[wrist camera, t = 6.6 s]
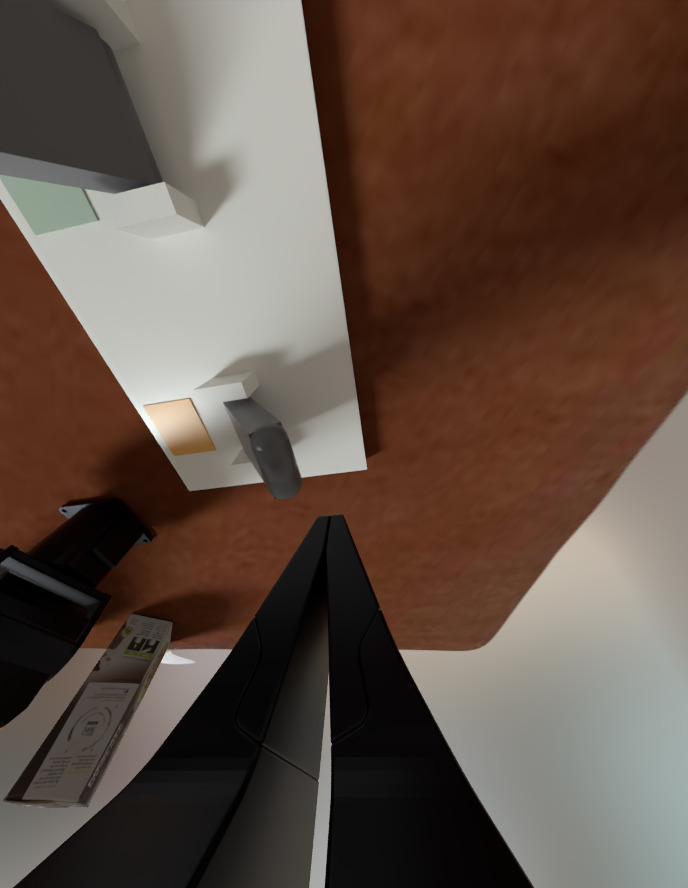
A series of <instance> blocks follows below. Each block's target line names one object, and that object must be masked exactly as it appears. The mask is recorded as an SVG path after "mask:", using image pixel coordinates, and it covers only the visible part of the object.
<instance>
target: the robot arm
mask: <svg viewBox="0 0 688 888" xmlns="http://www.w3.org/2000/svg"><path fill="white" fill-rule="evenodd" d="M59 511H60V512H61V513H62V514H63V515H64V516H66V517H67V518H68V520H67V521H66V522H65V523H63V524H62V525H61V526H60V527H58V528H57V529H56V530H55V531H53V532H52V533H51V534H50V535H48V536H47V537H46V538H45V539H43V540H42V541H41V542H40V543H39V544H37V545H36V546H35V547H34V548H32V549H31V550H30V551H29V552H27V553H24V552H22V551H20V550H18V549H19V548H17V547H15V546H13V545H10V546H9V547H7V548H6V549H2V548H0V728H2V727H3V726H5V725H6V724H8V723H9V722H10V721H11V720H13V719H14V718H15V717H16V716H18V715H19V714H20V713H21V712H23V711H24V710H25V709H26V708H27V707H28V706H29V704H30V703H31V702H32V700H33V699H34V697H35V696H36V695H37V693H38V692H39V690H40V689H41V688H42V686H43V685H44V684H45V683H46V682H48V681H49V680H50V679H51V678H53V677H54V676H55V675H56V674H57V673H58V672H59V671H60V670H61V669H62V668H63V667H64V666H65V665H66V664H67V663H68V662H69V660H70V659H71V658H72V657H73V656H74V654H75V653H76V652H77V650H78V649H79V648H80V646H81V645H82V643H83V642H84V640H85V639H86V637H87V635H88V634H89V632H90V631H91V629H92V627H93V626H94V624H95V623H96V621H97V619H98V618H99V616H100V614H101V613H102V611H103V610H104V608H105V606H106V605H107V603H108V602H109V600H110V598H111V597H112V595H110V594H108V593H103V592H101V591H99V590H97V589H95V587H97V585H98V584H99V583H100V582H101V581H102V580H103V578H104V577H105V576H106V575H107V574H108V573H109V571H110V570H111V569H112V568H114V567H115V566H116V565H117V564H118V563H119V562H120V561H121V559H122V558H123V557H124V556H125V555H126V554H127V552H128V551H129V550H130V549H131V548H132V547H133V545H140V544H149V543H150V542H151V541H152V540H153V538H152V537H151V535H150V534H149V533H148V532H147V531H146V530H145V528H144V527H143V526H142V525H141V524H140V523H139V521H138V520H137V519H136V518H135V517H134V516H133V514H132V513H131V512H130V511H129V510H128V509H127V508H126V506H125V505H124V504H123V503H122V502H121V501H120V500H118V499H114V498H113V499H105V500H97V501H89V502H81V503H73V504H65V505H63V506H61V507H60V508H59ZM328 674H329V686H330V725H331V726H330V727H331V743H332V746H331V805H330V819H329V834H328V849H327V864H326V879H325V888H534V887H533V885H532V883H531V882H530V880H529V879H528V877H527V876H526V874H525V872H524V871H523V869H522V867H521V866H520V864H519V863H518V861H517V859H516V858H515V856H514V855H513V853H512V852H511V850H510V848H509V847H508V845H507V843H506V842H505V841H504V839H503V837H502V835H501V834H500V832H499V831H498V829H497V828H496V826H495V824H494V823H493V821H492V819H491V818H490V816H489V815H488V813H487V811H486V810H485V808H484V806H483V805H482V803H481V801H480V800H479V798H478V796H477V795H476V793H475V791H474V790H473V788H472V786H471V785H470V783H469V781H468V779H467V778H466V776H465V774H464V772H463V771H462V769H461V767H460V765H459V764H458V762H457V760H456V758H455V756H454V755H453V753H452V751H451V749H450V747H449V745H448V743H447V742H446V740H445V738H444V736H443V734H442V732H441V730H440V728H439V727H438V725H437V723H436V721H435V719H434V717H433V715H432V714H431V712H430V710H429V708H428V706H427V704H426V703H425V700H424V699H423V697H422V695H421V693H420V691H419V690H418V687H417V685H416V684H415V682H414V680H413V678H412V676H411V674H410V672H409V670H408V668H407V666H406V664H405V662H404V661H403V658H402V656H401V654H400V653H399V650H398V648H397V646H396V644H395V641H394V639H393V637H392V635H391V632H390V630H389V628H388V625H387V623H386V620H385V618H384V615H383V613H382V611H381V609H380V606H379V603H378V601H377V598H376V596H375V593H374V591H373V588H372V586H371V583H370V581H369V578H368V576H367V573H366V571H365V568H364V566H363V563H362V561H361V558H360V556H359V553H358V551H357V548H356V546H355V543H354V541H353V538H352V536H351V533H350V530H349V528H348V525H347V523H346V520H345V518H344V516H343V514H334V515H331V516H330V515H325V516H319V517H318V518H317V520H316V521H315V523H314V524H313V526H312V527H311V529H310V530H309V532H308V534H307V535H306V537H305V538H304V540H303V541H302V543H301V545H300V546H299V548H298V549H297V551H296V552H295V554H294V555H293V557H292V559H291V560H290V562H289V563H288V565H287V566H286V568H285V570H284V571H283V573H282V574H281V576H280V577H279V579H278V580H277V582H276V584H275V585H274V587H273V588H272V590H271V591H270V593H269V595H268V596H267V598H266V599H265V601H264V602H263V604H262V605H261V607H260V609H259V610H258V612H257V613H256V615H255V618H253V619H252V621H251V622H250V624H249V626H248V627H247V629H246V630H245V632H244V633H243V635H242V636H241V638H240V639H239V641H238V642H237V644H236V645H235V647H234V648H233V650H232V651H231V653H230V654H229V656H228V657H227V658H226V660H225V661H224V663H223V664H222V665H221V667H220V668H219V669H218V671H217V672H216V674H215V675H214V676H213V678H212V679H211V680H210V682H209V683H208V684H207V686H206V687H205V689H204V690H203V691H202V692H201V694H200V695H199V696H198V698H197V699H196V701H195V702H194V703H193V704H192V706H191V707H190V708H189V710H188V711H187V712H186V714H185V715H184V716H183V718H182V719H181V720H180V722H179V723H178V724H177V726H176V727H175V728H174V730H173V731H172V732H171V733H170V735H169V736H168V737H167V739H166V740H165V741H164V743H163V744H162V745H161V747H160V748H159V749H158V750H157V752H156V753H155V754H154V756H153V757H152V758H151V759H150V760H149V762H148V763H147V764H146V765H145V766H144V767H143V769H142V770H141V771H140V772H139V773H138V774H137V775H136V776H135V777H134V778H133V780H132V781H131V782H130V783H129V784H128V785H127V786H126V787H125V788H124V789H123V790H122V791H121V792H120V793H119V794H118V795H117V796H116V797H114V798H113V799H112V800H111V801H110V802H109V803H108V804H107V805H106V806H105V807H103V808H102V809H101V810H100V811H99V812H98V813H97V814H96V815H94V816H93V817H92V818H91V819H90V820H89V821H88V822H86V823H85V824H84V825H83V826H82V827H81V828H80V829H79V830H78V831H76V832H75V833H74V834H73V835H72V836H71V837H70V838H68V839H67V840H66V841H65V842H64V843H63V844H62V845H61V846H60V847H58V848H57V849H56V850H55V851H54V852H53V853H52V854H51V855H49V856H48V857H47V858H46V859H45V860H44V861H43V862H41V863H40V864H39V865H38V866H37V867H36V868H35V869H34V870H32V871H31V872H30V873H29V874H28V875H27V876H26V877H25V878H24V879H22V880H21V881H20V882H19V883H18V884H17V885H16V886H14V887H13V888H309V881H310V870H311V860H312V849H313V838H314V828H315V827H314V826H315V816H316V805H317V795H318V784H319V782H318V779H319V772H320V761H321V750H322V739H323V728H324V717H325V707H326V695H327V685H328Z"/></svg>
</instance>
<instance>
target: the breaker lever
mask: <svg viewBox="0 0 688 888" xmlns="http://www.w3.org/2000/svg"><path fill="white" fill-rule="evenodd" d="M223 404H224V406H225V409H226V411H227V413H228V415H229V418H230V420H231V422H232V424H233V427H234V429H235V431H236V433H237V436H238V438H239V440H240V442H241V445H242V447H243V449H244V451H245V453H246V455H247V457H248V458H249V460H250V461H251V463H252V464H253V466H254V467H255V469H256V471H257V472H258V474H259V475H260V477H261V478H262V480H263V481H264V483H265V484H266V486H267V488H268V489H269V491H270V493H271V494H272V495H273V497H274V498H275V499H276V498H278V499H290V498H292V497H294V496H295V495H297V493H298V492H299V491H300V489H301V486H302V478H301V474H300V471H299V468H298V465H297V462H296V459H295V455H294V452H293V449H292V446H291V443H290V440H289V437H288V434H287V432H286V430H285V429H284V428H283V427H282V424H281V421H279V420H278V419H277V418H276V417H274V416H273V415H272V414H271V413H269V412H268V411H267V410H266V409H264V408H263V407H262V406H261V405H259V404H258V403H257V402H256V401H254V400H253V399H252V398H251V397H248V398H245V399H239V400H232V401H226V402H223Z"/></svg>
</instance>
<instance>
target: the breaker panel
mask: <svg viewBox="0 0 688 888" xmlns="http://www.w3.org/2000/svg"><path fill="white" fill-rule="evenodd" d="M0 199H1V201H2V202H3V204H4V205H5V207H6V209H7V210H8V212H9V213H10V215H11V216H12V218H13V219H14V221H15V222H16V224H17V226H18V227H19V229H20V230H21V232H22V233H23V235H24V236H25V238H26V239H27V241H28V243H29V244H30V246H31V247H32V249H33V250H34V252H35V253H36V255H37V256H38V258H39V260H40V261H41V263H42V264H43V266H44V267H45V269H46V270H47V272H48V273H49V275H50V277H51V278H52V280H53V281H54V283H55V284H56V286H57V287H58V289H59V290H60V292H61V294H62V295H63V297H64V298H65V300H66V301H67V303H68V304H69V306H70V307H71V309H72V311H73V312H74V314H75V315H76V317H77V318H78V320H79V321H80V323H81V324H82V326H83V328H84V329H85V331H86V332H87V334H88V335H89V337H90V338H91V340H92V341H93V343H94V345H95V346H96V348H97V349H98V351H99V352H100V354H101V355H102V357H103V358H104V360H105V362H106V363H107V365H108V366H109V368H110V369H111V371H112V372H113V374H114V375H115V377H116V379H117V380H118V382H119V383H120V385H121V386H122V388H123V389H124V391H125V392H126V394H127V396H128V397H129V399H130V400H131V402H132V403H133V405H134V406H135V408H136V409H137V411H138V412H139V414H140V416H141V417H142V419H143V420H144V422H145V423H146V425H147V426H148V428H149V429H150V431H151V433H152V434H153V436H154V437H155V439H156V440H157V442H158V443H159V445H160V446H161V448H162V450H163V451H164V453H165V454H166V456H167V457H168V459H169V460H170V462H171V463H172V465H173V467H174V468H175V470H176V471H177V473H178V474H179V476H180V477H181V479H182V480H183V482H184V484H185V485H186V487H187V488H188V490H189V491H195V490H203V489H212V488H220V487H228V486H236V485H244V484H253V483H261V482H264V481H263V480H262V478H261V477H260V475H259V474H258V472H257V471H256V469H255V467H254V466H253V464H252V463H251V461H250V460H249V458H248V457H247V455H246V453H245V451H244V449H243V447H242V445H241V442H240V440H239V438H238V436H237V433H236V431H235V429H234V427H233V424H232V422H231V420H230V418H229V415H228V413H227V411H226V409H225V406H224V404H223V402H226V401H232V400H239V399H245V398H248V397H251V398H252V399H253V400H254V401H256V402H257V403H258V404H259V405H261V406H262V407H263V408H264V409H266V410H267V411H268V412H269V413H271V414H272V415H273V416H274V417H276V418H277V419H278V420H279V421H281V424H282V427H283V428H284V429H285V430H286V432H287V434H288V437H289V440H290V443H291V446H292V449H293V452H294V455H295V459H296V462H297V465H298V468H299V471H300V474H301V478H302V477H310V476H318V475H326V474H334V473H342V472H351V471H359V470H367V465H366V457H365V449H364V442H363V435H362V428H361V421H360V414H359V407H358V400H357V392H356V385H355V378H354V371H353V364H352V357H351V350H350V343H349V335H348V328H347V321H346V314H345V307H344V300H343V293H342V286H341V278H340V271H339V264H338V257H337V250H336V243H335V236H334V229H333V221H332V214H331V207H330V200H329V193H328V186H327V179H326V171H325V164H324V157H323V150H322V143H321V136H320V129H319V122H318V114H317V107H316V100H315V93H314V86H313V79H312V72H311V65H310V57H309V50H308V43H307V36H306V29H305V22H304V15H303V8H302V0H0Z"/></svg>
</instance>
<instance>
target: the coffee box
mask: <svg viewBox="0 0 688 888" xmlns="http://www.w3.org/2000/svg"><path fill="white" fill-rule="evenodd" d="M172 624H173V622H170V621H165V620H160V619H155V618H150V617H145V616H140V615H136V614H131V615H130V616H129V617H128V619H127V620H126V622H125V623H124V625H123V626H122V628H121V629H120V631H119V632H118V634H117V635H116V636H115V638H114V639H113V641H112V642H111V644H110V645H109V647H108V648H107V650H106V651H105V653H104V654H103V656H102V657H101V658H100V660H99V661H98V663H97V664H96V666H95V667H94V669H93V670H92V672H91V673H90V675H89V676H88V678H87V679H86V681H85V682H84V684H83V685H82V686H81V688H80V690H79V691H78V693H77V694H76V695H75V697H74V698H73V700H72V701H71V703H70V704H69V706H68V707H67V709H66V710H65V711H64V713H63V714H62V716H61V717H60V719H59V720H58V722H57V723H56V724H55V726H54V727H53V729H52V730H51V732H50V733H49V735H48V736H47V738H46V739H45V741H44V742H43V744H42V745H41V747H40V748H39V749H38V751H37V752H36V754H35V755H34V757H33V758H32V760H31V761H30V763H29V764H28V766H27V767H26V769H25V770H24V771H23V773H22V774H21V776H20V777H19V779H18V781H17V782H16V783H15V785H14V786H13V788H12V789H11V790H10V792H9V793H8V795H7V796H6V797H5V798H4V801H5V802H9V803H13V804H17V805H23V806H30V807H44V808H55V807H69V806H75V807H88V806H89V804H90V802H91V800H92V797H93V796H94V794H95V792H96V790H97V788H98V786H99V784H100V782H101V780H102V778H103V776H104V774H105V772H106V770H107V768H108V766H109V764H110V762H111V760H112V758H113V756H114V754H115V752H116V750H117V748H118V746H119V744H120V742H121V740H122V738H123V736H124V734H125V732H126V730H127V728H128V726H129V724H130V722H131V720H132V718H133V716H134V714H135V712H136V710H137V708H138V706H139V704H140V702H141V700H142V698H143V696H144V694H145V692H146V690H147V688H148V686H149V684H150V682H151V680H152V678H153V676H154V674H155V672H156V670H157V668H158V666H159V664H160V662H161V660H162V658H163V656H164V654H165V652H166V650H167V648H168V646H169V644H170V640H171V632H172Z"/></svg>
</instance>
